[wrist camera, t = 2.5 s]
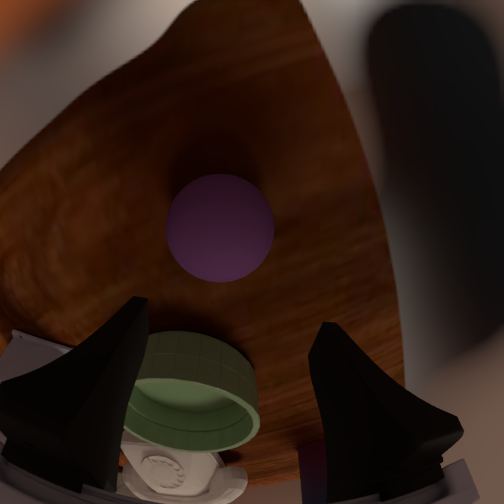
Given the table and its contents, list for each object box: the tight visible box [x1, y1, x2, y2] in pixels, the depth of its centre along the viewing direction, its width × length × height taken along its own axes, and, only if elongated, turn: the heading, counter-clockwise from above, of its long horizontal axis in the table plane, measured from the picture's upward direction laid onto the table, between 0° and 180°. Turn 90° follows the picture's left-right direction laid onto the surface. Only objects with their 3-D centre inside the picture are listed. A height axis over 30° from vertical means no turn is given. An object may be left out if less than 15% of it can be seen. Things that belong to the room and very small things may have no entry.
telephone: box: [121, 430, 248, 504], centre depth 31 cm, size 16×20×9 cm
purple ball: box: [166, 174, 274, 282], centre depth 16 cm, size 6×6×6 cm
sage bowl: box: [124, 331, 260, 453], centre depth 24 cm, size 13×13×6 cm
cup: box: [298, 440, 327, 504], centre depth 29 cm, size 7×7×15 cm
